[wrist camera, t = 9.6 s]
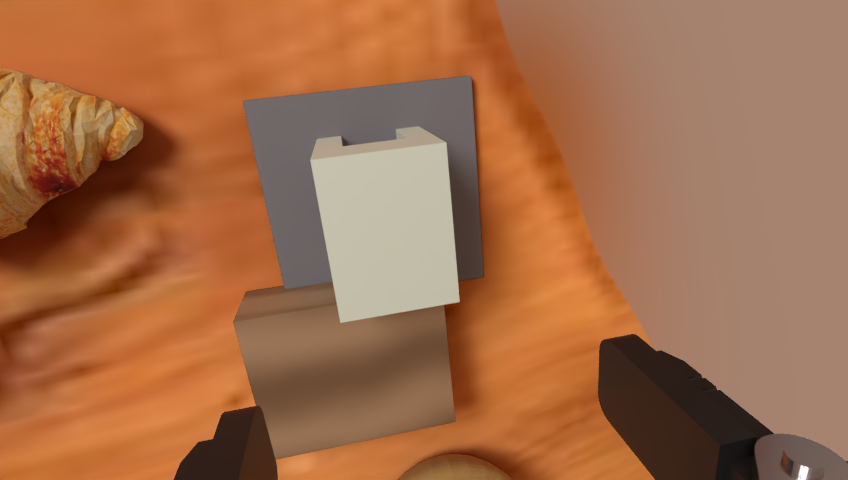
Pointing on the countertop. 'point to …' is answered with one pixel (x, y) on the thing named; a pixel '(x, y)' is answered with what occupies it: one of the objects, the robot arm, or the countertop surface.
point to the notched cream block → (387, 223)
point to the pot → (454, 469)
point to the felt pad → (356, 124)
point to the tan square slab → (341, 369)
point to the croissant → (53, 142)
